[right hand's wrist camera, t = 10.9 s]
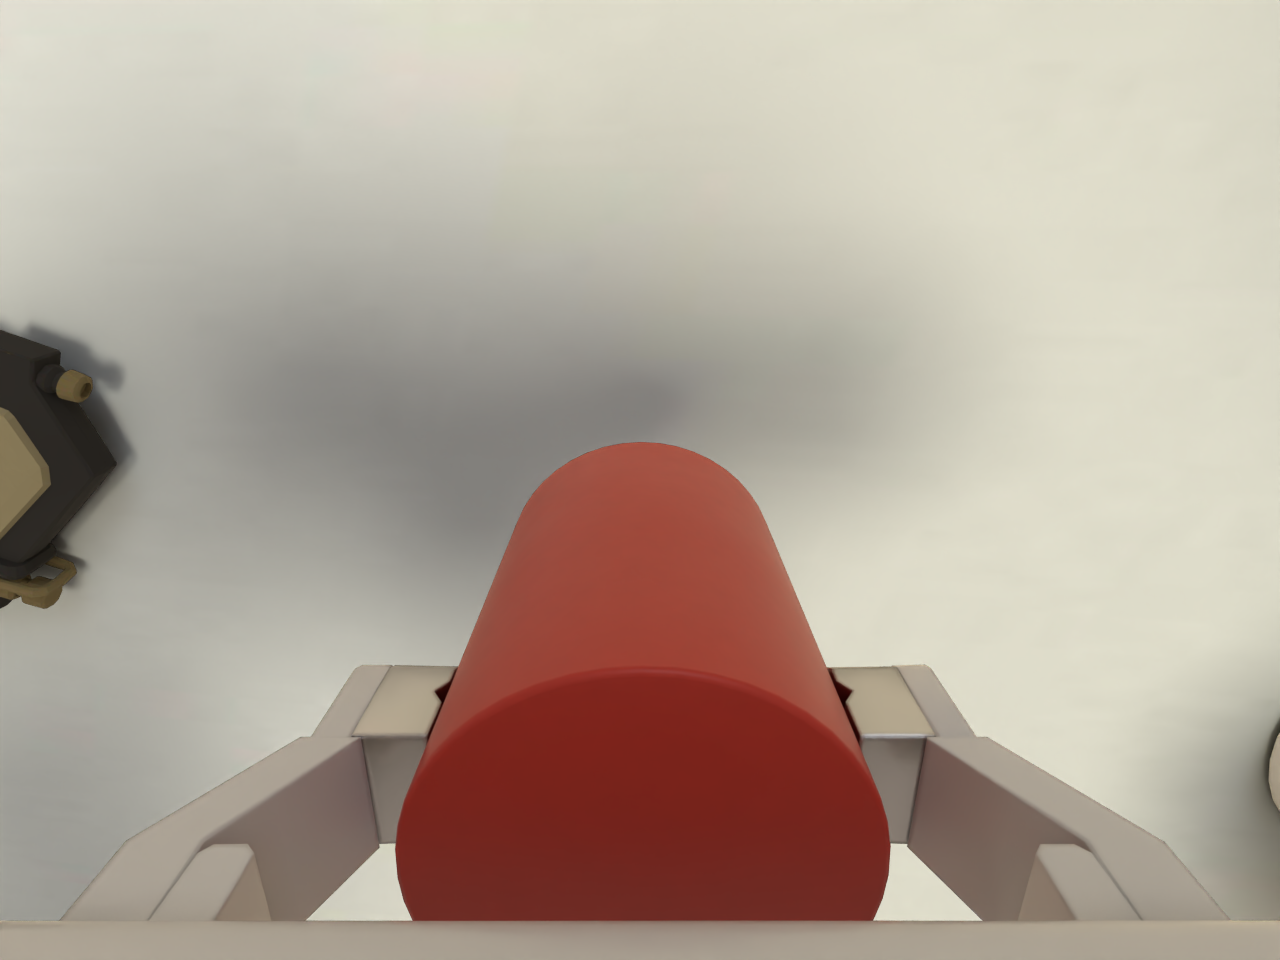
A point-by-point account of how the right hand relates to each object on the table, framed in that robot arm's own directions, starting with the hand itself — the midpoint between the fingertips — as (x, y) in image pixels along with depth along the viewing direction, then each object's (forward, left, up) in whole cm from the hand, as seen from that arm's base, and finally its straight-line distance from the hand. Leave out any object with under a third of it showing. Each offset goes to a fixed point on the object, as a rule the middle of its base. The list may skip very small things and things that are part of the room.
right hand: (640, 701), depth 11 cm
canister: (0, 0, -4) cm, 4 cm away
